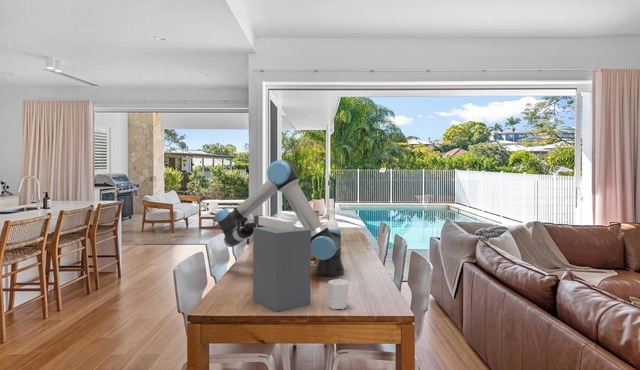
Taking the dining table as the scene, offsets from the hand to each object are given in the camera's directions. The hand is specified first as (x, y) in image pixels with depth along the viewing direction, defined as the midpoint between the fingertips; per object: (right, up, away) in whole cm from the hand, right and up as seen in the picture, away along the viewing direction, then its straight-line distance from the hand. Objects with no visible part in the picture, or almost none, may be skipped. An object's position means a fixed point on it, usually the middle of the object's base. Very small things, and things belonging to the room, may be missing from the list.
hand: (264, 216), depth 197 cm
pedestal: (+10, -33, -24) cm, 42 cm away
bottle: (+33, -30, +71) cm, 84 cm away
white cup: (+33, -34, -29) cm, 55 cm away
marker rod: (+6, -3, -19) cm, 21 cm away
